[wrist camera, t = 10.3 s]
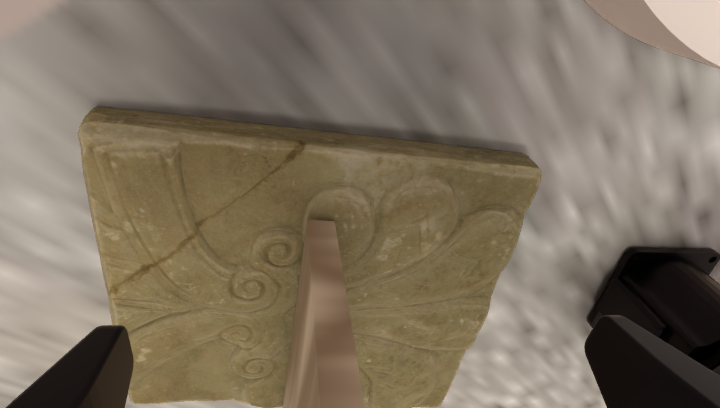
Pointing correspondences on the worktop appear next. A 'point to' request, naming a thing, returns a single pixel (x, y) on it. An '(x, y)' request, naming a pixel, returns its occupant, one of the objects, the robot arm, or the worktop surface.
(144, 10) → the worktop surface
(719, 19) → the ring with crossbar
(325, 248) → the birch sheet
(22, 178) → the worktop surface
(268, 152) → the decorative tile
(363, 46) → the worktop surface
